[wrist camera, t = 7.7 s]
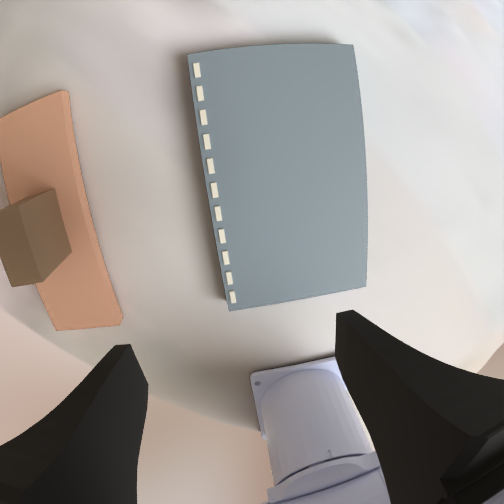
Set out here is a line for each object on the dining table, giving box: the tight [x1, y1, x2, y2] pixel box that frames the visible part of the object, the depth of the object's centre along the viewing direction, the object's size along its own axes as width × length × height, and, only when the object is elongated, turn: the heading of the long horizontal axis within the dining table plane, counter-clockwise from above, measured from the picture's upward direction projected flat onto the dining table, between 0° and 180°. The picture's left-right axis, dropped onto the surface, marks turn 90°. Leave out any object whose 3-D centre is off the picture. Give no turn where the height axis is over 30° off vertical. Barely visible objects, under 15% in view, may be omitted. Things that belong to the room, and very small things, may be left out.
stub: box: [0, 90, 123, 331], centre depth 14 cm, size 15×5×5 cm, turn 7°
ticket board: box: [187, 43, 368, 311], centre depth 17 cm, size 15×9×1 cm, turn 7°
